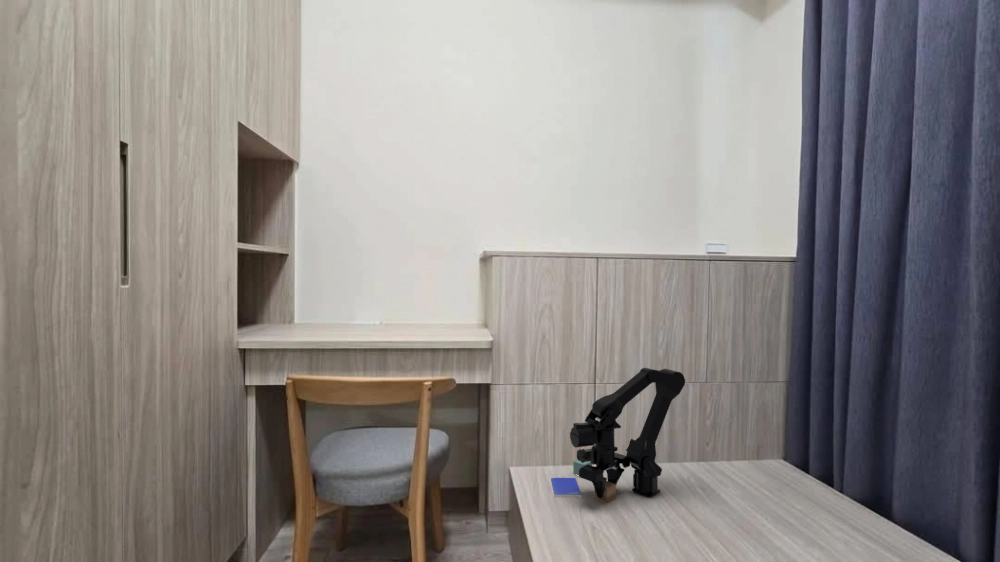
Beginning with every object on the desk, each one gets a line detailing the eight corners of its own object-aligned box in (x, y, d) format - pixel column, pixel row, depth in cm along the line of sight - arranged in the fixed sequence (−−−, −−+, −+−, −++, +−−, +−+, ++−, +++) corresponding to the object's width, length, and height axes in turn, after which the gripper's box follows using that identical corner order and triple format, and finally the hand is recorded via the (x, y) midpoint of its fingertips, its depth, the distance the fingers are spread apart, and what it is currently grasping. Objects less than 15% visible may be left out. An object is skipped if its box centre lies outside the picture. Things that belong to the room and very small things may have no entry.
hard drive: (581, 493, 146) (575, 477, 158) (554, 493, 146) (550, 477, 158) (581, 499, 146) (575, 482, 158) (554, 499, 146) (550, 482, 158)
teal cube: (592, 474, 163) (592, 461, 163) (584, 478, 160) (584, 464, 160) (581, 471, 166) (581, 457, 166) (573, 474, 163) (573, 461, 163)
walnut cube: (615, 499, 145) (615, 484, 145) (607, 503, 142) (607, 488, 142) (603, 494, 148) (603, 479, 148) (594, 499, 145) (594, 484, 145)
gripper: (600, 430, 157) (601, 478, 157) (564, 444, 144) (564, 496, 144) (630, 438, 149) (631, 489, 149) (594, 453, 136) (595, 508, 136)
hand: (605, 495), depth 145 cm, fingers open, 5 cm apart
